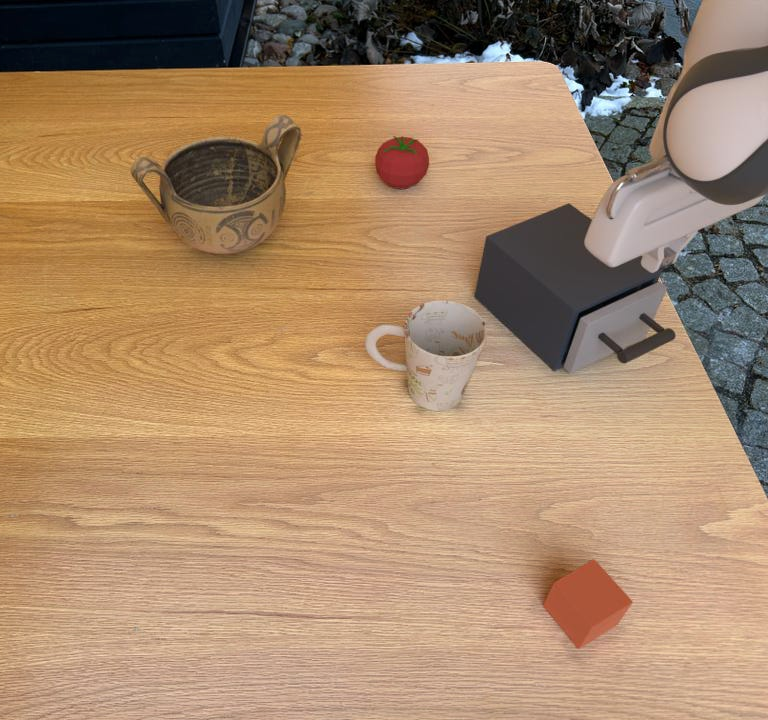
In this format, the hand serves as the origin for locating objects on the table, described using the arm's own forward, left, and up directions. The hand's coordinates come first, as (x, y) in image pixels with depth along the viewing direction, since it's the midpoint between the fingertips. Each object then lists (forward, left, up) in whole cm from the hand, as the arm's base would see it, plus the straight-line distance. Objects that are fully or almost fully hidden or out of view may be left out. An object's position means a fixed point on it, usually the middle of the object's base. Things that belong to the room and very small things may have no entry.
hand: (656, 264), depth 74 cm
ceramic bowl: (+52, -3, -15) cm, 55 cm away
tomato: (+35, -25, -15) cm, 46 cm away
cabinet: (+8, -6, -15) cm, 18 cm away
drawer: (+5, -3, -14) cm, 15 cm away
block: (-3, +31, -15) cm, 35 cm away
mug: (+19, +12, -15) cm, 28 cm away
